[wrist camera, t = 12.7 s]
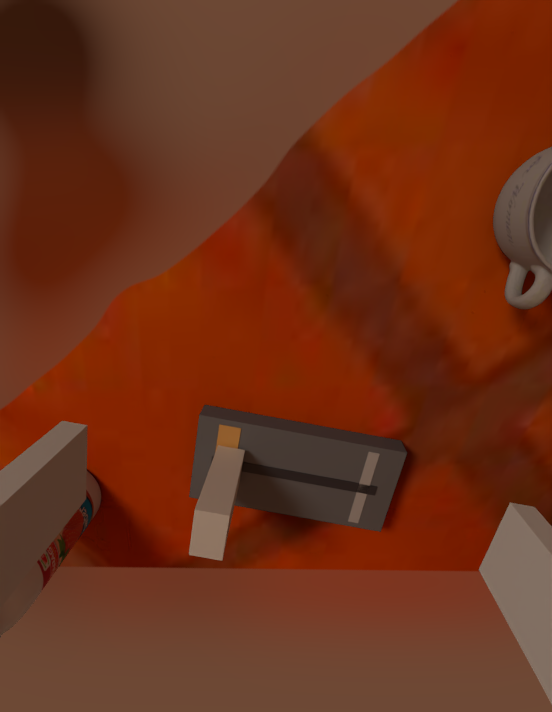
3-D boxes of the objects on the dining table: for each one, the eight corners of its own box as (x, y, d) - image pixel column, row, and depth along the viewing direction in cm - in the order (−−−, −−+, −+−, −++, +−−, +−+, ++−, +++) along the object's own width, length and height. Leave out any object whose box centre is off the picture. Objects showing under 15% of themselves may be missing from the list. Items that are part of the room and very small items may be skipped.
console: (401, 440, 43) (407, 453, 40) (376, 516, 46) (380, 532, 44) (204, 404, 43) (199, 415, 40) (194, 483, 46) (189, 497, 44)
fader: (244, 450, 41) (229, 515, 31) (238, 487, 42) (222, 560, 33) (218, 445, 41) (194, 509, 31) (212, 482, 42) (188, 554, 33)
